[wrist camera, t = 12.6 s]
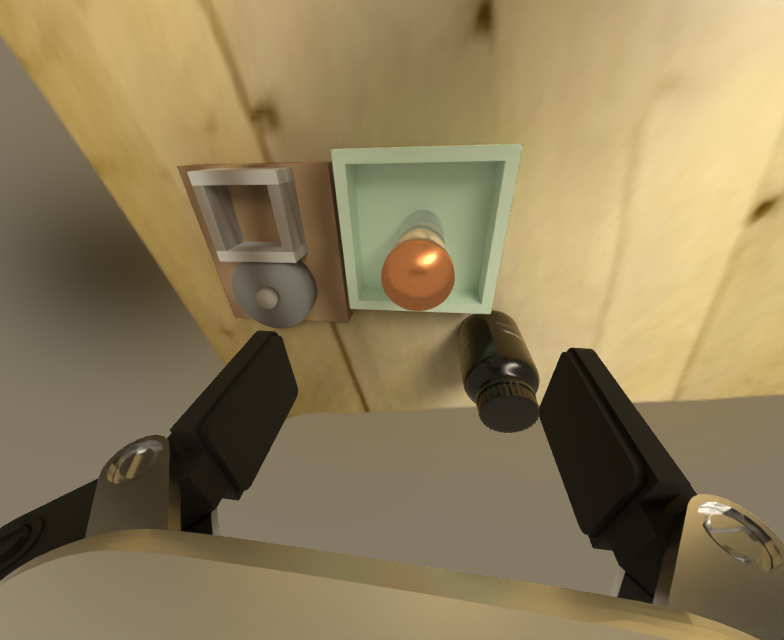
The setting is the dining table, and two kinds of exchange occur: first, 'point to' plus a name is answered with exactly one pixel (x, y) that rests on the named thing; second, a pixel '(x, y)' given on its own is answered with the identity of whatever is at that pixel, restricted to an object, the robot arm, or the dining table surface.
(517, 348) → the supplement bottle
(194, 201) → the wooden stand
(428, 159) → the tray
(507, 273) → the dining table surface
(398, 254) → the jar with copper lid
